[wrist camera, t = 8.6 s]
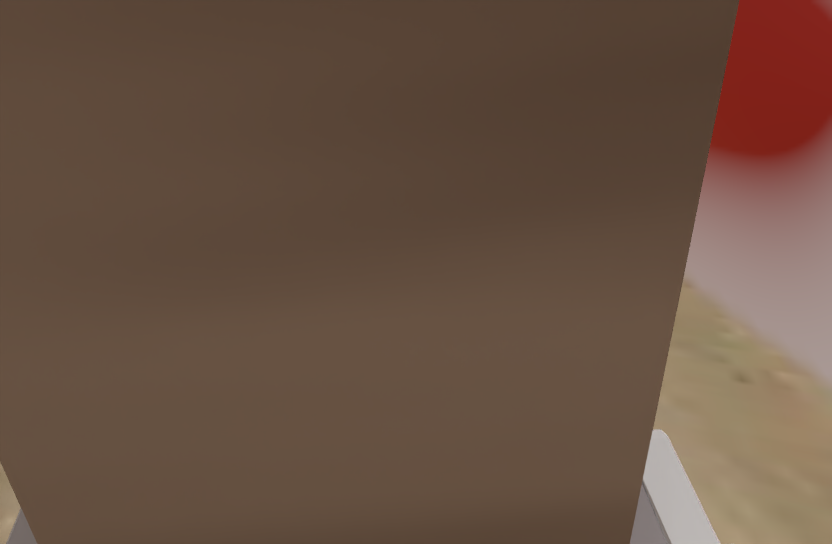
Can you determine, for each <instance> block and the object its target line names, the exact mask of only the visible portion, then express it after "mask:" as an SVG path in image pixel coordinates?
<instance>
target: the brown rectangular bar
mask: <svg viewBox="0 0 832 544" xmlns="http://www.w3.org/2000/svg"><path fill="white" fill-rule="evenodd" d="M738 4H739V0H0V462H1V464H2V466H3V468H4V471H5V473H6V475H7V477H8V480H9V482H10V484H11V486H12V488H13V491H14V493H15V495H16V497H17V500H18V502H19V504H20V506H21V509H22V511H23V513H24V515H25V518H26V520H27V522H28V524H29V526H30V529H31V531H32V533H33V535H34V538H35V540H36V542H37V544H630V540H631V535H632V530H633V525H634V520H635V515H636V510H637V505H638V500H639V495H640V490H641V485H642V480H643V475H644V470H645V465H646V460H647V455H648V450H649V446H650V441H651V436H652V431H653V426H654V421H655V416H656V411H657V406H658V401H659V396H660V391H661V386H662V381H663V376H664V371H665V366H666V361H667V356H668V351H669V346H670V341H671V336H672V331H673V326H674V321H675V316H676V311H677V307H678V302H679V297H680V292H681V287H682V282H683V277H684V272H685V267H686V262H687V257H688V252H689V247H690V242H691V237H692V232H693V227H694V222H695V216H696V212H697V207H698V202H699V197H700V192H701V187H702V182H703V177H704V172H705V167H706V163H707V158H708V153H709V148H710V143H711V138H712V133H713V128H714V123H715V118H716V113H717V108H718V103H719V98H720V93H721V88H722V83H723V78H724V73H725V68H726V63H727V58H728V53H729V48H730V43H731V38H732V33H733V28H734V24H735V19H736V14H737V9H738Z"/></svg>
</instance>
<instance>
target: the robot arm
mask: <svg viewBox="0 0 832 544" xmlns="http://www.w3.org/2000/svg"><path fill="white" fill-rule="evenodd" d="M6 544H37V542H36V540H35V538H34V535H33V533H32V531H31V529H30V526H29V524H28V522H27V520H26V518H25V515H24V513H23V511H22V509H20V511H19V514H18V516H17V519H16V521H15V523H14V526H13V528H12V531H11V533H10V535H9V538H8V540H7V543H6ZM630 544H720V542H719V540H718V538H717V536H716V534H715V532H714V530H713V528H712V525H711V523H710V521H709V519H708V517H707V515H706V513H705V511H704V509H703V507H702V505H701V503H700V501H699V499H698V497H697V495H696V493H695V491H694V489H693V486H692V484H691V482H690V480H689V478H688V476H687V474H686V472H685V470H684V468H683V466H682V464H681V462H680V460H679V458H678V456H677V454H676V452H675V450H674V447H673V445H672V443H671V441H670V439H669V437H668V435H667V434H665V433H664V432H663V431H662V430H661V429H658V430H653V431H652V436H651V441H650V446H649V450H648V455H647V460H646V465H645V470H644V475H643V480H642V485H641V490H640V495H639V500H638V505H637V510H636V515H635V520H634V525H633V530H632V535H631V540H630Z"/></svg>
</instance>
